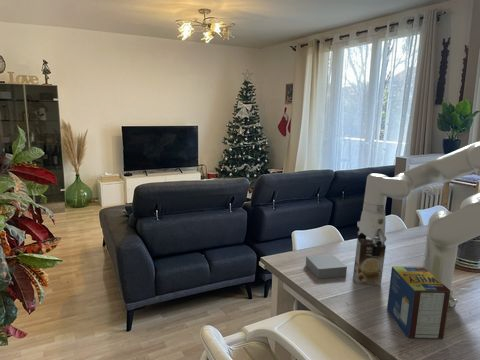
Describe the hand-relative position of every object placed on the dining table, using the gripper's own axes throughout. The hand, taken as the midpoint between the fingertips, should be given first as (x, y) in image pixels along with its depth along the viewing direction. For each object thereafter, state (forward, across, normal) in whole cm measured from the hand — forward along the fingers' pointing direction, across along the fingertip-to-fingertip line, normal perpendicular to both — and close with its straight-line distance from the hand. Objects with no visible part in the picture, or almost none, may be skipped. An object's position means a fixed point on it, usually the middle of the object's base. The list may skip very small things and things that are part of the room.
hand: (368, 250), depth 132 cm
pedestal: (+13, +10, +11) cm, 20 cm away
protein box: (+12, -28, 0) cm, 30 cm away
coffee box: (+13, -1, -1) cm, 13 cm away
